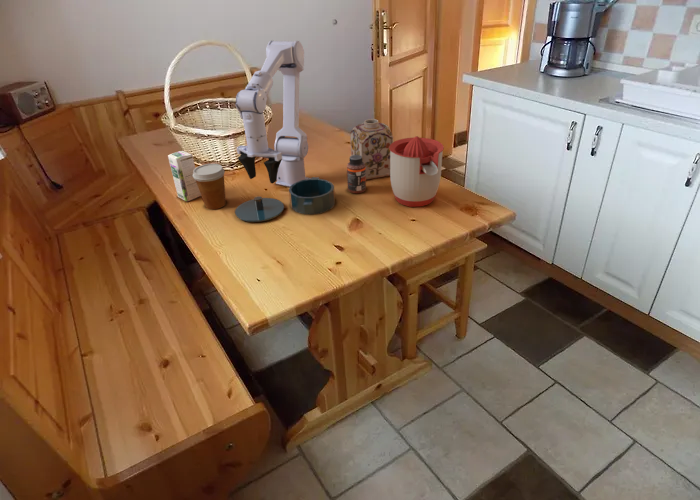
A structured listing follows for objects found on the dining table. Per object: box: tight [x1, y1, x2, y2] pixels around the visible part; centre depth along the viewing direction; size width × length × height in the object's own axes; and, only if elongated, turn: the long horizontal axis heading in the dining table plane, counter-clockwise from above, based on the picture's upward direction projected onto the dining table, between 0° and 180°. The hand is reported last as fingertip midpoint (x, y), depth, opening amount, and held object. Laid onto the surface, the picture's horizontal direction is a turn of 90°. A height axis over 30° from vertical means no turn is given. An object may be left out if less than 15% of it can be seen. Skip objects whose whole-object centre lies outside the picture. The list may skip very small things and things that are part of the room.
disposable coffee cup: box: [192, 163, 227, 210], centre depth 145 cm, size 10×10×12 cm
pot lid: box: [234, 195, 285, 223], centre depth 142 cm, size 15×15×5 cm
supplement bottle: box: [346, 155, 367, 194], centre depth 150 cm, size 6×6×11 cm
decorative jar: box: [349, 118, 394, 181], centre depth 160 cm, size 12×12×18 cm
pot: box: [288, 176, 336, 215], centre depth 145 cm, size 14×19×5 cm
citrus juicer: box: [389, 135, 445, 208], centre depth 140 cm, size 16×17×20 cm
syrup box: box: [167, 150, 202, 202], centre depth 150 cm, size 6×6×14 cm
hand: (263, 179), depth 138 cm, fingers open, 7 cm apart
